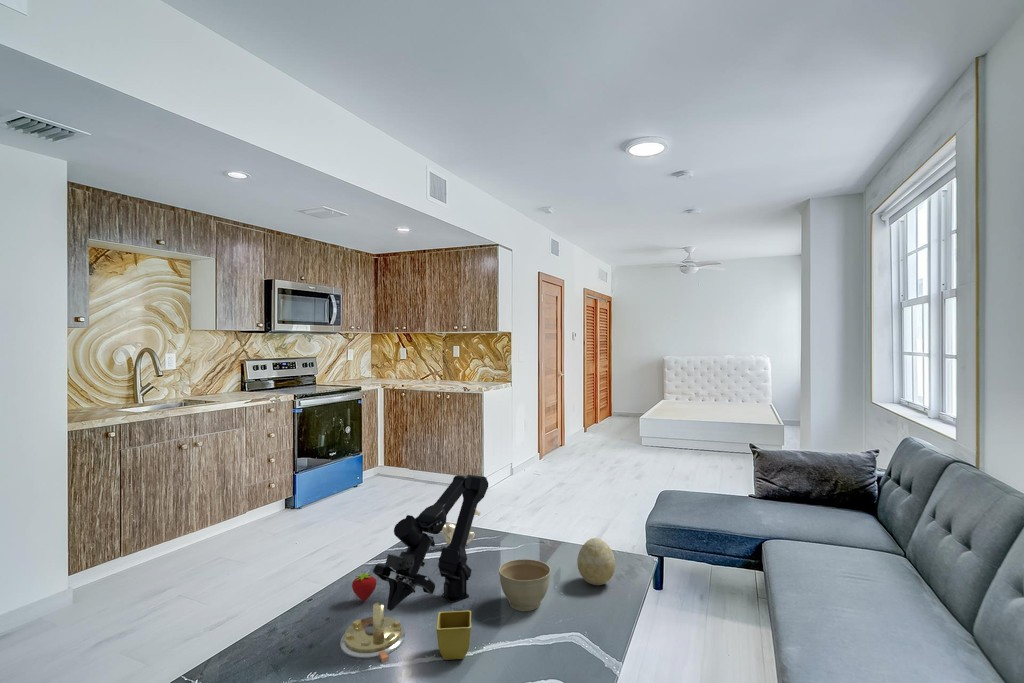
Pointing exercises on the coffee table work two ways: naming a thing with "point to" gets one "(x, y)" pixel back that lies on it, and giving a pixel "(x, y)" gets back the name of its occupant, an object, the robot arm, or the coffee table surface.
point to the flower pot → (454, 634)
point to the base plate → (375, 654)
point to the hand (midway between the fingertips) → (388, 610)
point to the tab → (383, 656)
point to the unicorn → (449, 531)
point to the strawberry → (364, 586)
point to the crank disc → (383, 632)
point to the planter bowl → (524, 583)
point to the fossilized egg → (596, 562)
